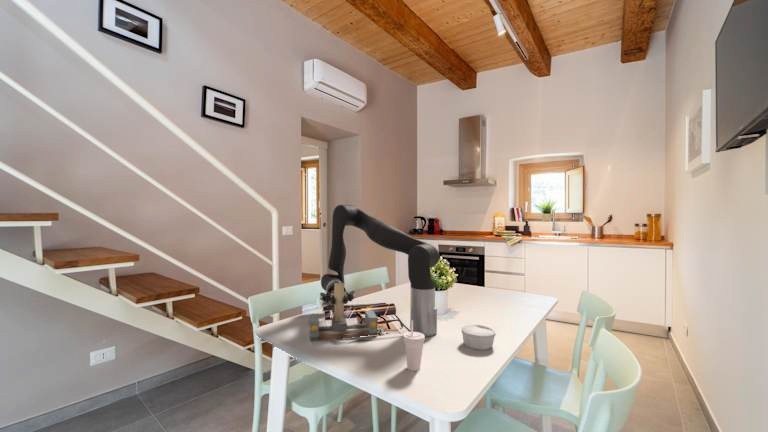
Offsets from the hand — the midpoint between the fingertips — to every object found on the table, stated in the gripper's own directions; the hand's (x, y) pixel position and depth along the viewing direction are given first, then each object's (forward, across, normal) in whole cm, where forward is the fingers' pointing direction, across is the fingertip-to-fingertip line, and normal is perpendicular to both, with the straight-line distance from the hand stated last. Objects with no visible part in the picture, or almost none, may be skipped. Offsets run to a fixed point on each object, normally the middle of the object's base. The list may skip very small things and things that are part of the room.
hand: (339, 301), depth 124 cm
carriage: (-3, 0, +10) cm, 11 cm away
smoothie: (+28, +19, +13) cm, 36 cm away
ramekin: (+16, +46, +13) cm, 51 cm away
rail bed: (-3, +2, +13) cm, 13 cm away
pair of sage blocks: (-3, +2, +13) cm, 13 cm away
